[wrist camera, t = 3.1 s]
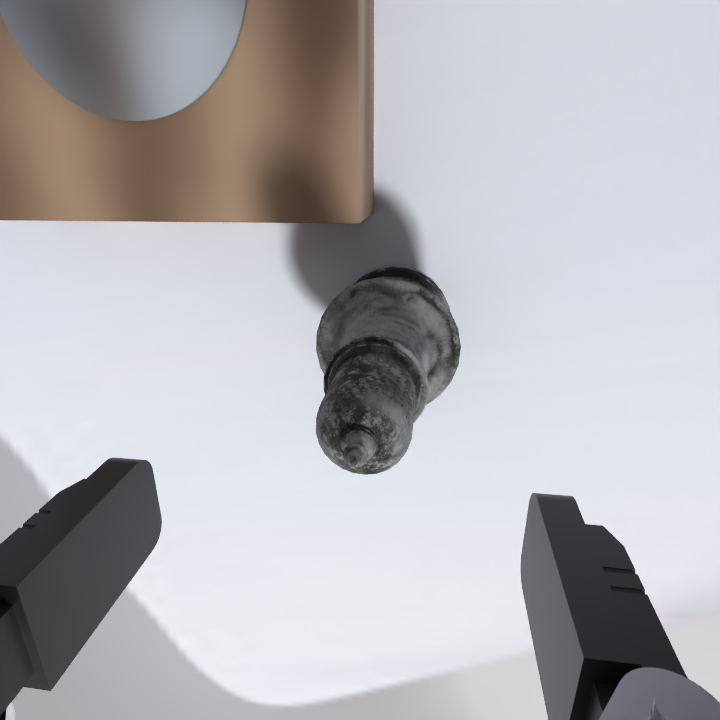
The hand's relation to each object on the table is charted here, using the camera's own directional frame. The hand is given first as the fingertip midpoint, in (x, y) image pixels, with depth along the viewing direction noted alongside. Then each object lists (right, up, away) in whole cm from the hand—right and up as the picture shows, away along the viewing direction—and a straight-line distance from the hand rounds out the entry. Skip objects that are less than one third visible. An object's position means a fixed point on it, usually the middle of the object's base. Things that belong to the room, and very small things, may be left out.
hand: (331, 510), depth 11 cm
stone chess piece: (+2, +5, +13) cm, 14 cm away
